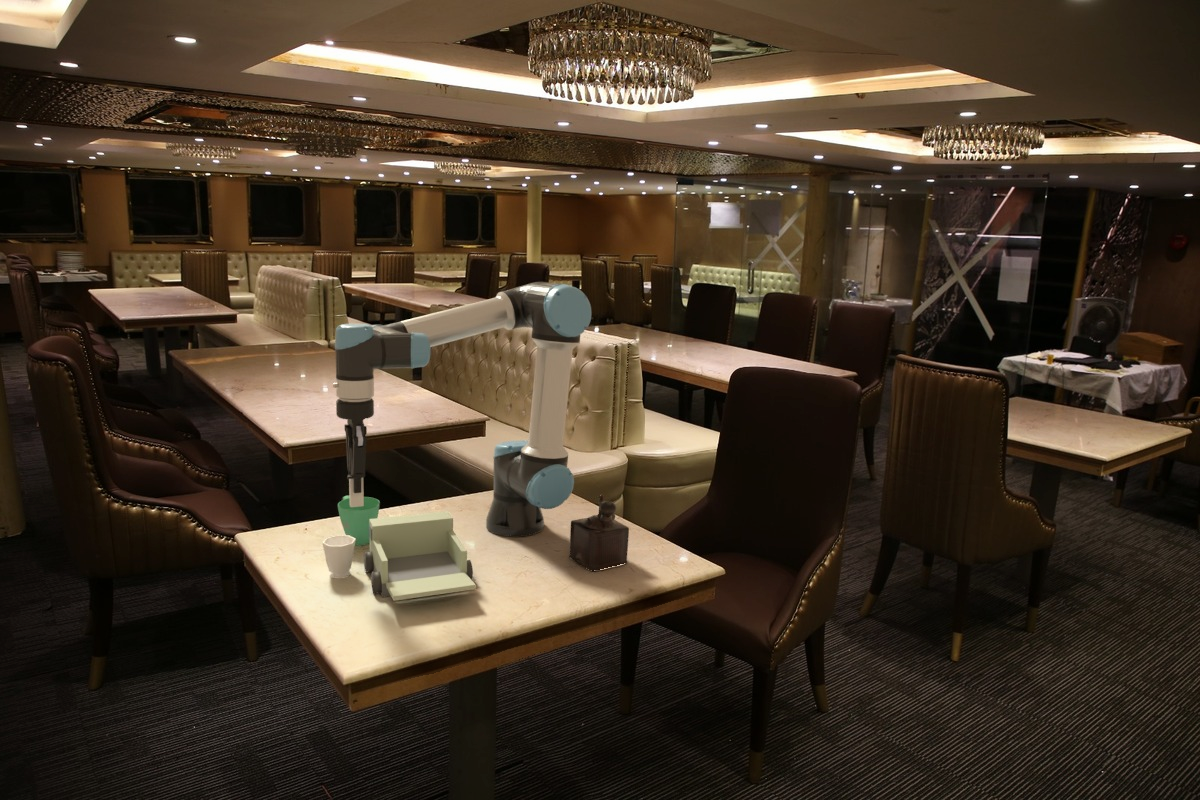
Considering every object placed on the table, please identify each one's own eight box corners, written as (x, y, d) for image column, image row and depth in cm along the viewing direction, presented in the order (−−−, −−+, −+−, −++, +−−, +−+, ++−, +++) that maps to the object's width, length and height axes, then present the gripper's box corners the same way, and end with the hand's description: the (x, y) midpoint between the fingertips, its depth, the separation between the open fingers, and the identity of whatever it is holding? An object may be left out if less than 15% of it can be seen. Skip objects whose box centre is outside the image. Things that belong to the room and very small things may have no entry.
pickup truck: (454, 554, 188) (454, 510, 185) (473, 584, 172) (474, 537, 169) (363, 565, 179) (362, 519, 177) (375, 598, 163) (374, 548, 161)
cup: (325, 583, 169) (324, 548, 168) (319, 565, 178) (318, 532, 176) (359, 578, 172) (358, 543, 171) (351, 561, 181) (350, 528, 179)
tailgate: (464, 572, 169) (475, 584, 161) (464, 578, 169) (475, 590, 161) (386, 582, 163) (393, 596, 154) (386, 588, 163) (393, 602, 155)
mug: (386, 544, 192) (386, 505, 190) (347, 552, 186) (346, 512, 184) (364, 526, 203) (363, 489, 201) (326, 533, 197) (325, 495, 195)
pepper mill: (565, 557, 188) (568, 486, 185) (603, 549, 195) (606, 479, 191) (602, 581, 176) (605, 505, 172) (641, 572, 182) (645, 498, 178)
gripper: (332, 393, 168) (334, 498, 172) (341, 405, 156) (343, 517, 161) (367, 391, 171) (369, 494, 176) (379, 403, 160) (380, 513, 164)
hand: (356, 505), depth 168 cm, fingers closed
